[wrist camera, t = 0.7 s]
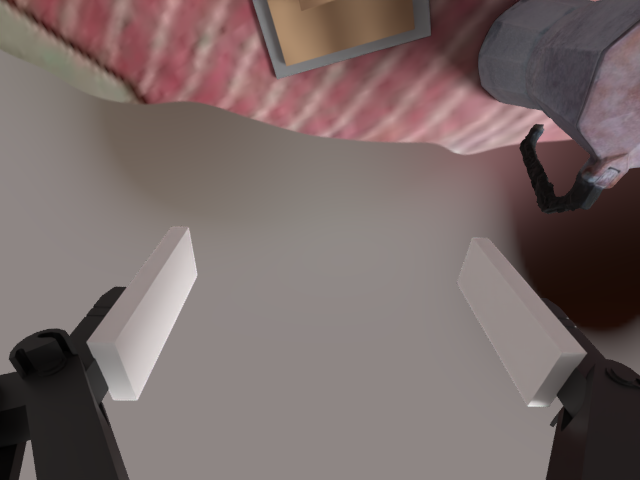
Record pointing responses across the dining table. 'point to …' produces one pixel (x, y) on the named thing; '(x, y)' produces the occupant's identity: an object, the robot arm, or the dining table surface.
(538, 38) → the moka pot
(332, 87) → the dining table surface
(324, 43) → the walnut lid
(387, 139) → the dining table surface
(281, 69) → the rubber mat
